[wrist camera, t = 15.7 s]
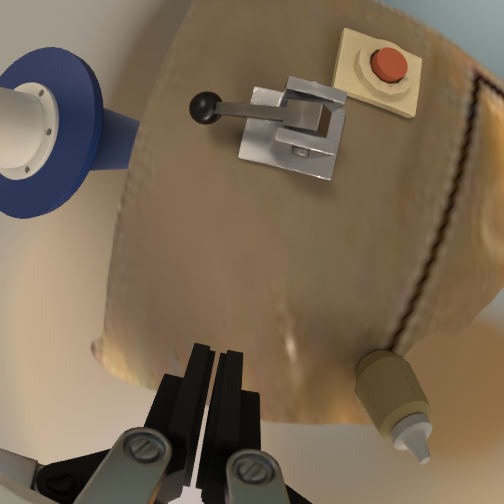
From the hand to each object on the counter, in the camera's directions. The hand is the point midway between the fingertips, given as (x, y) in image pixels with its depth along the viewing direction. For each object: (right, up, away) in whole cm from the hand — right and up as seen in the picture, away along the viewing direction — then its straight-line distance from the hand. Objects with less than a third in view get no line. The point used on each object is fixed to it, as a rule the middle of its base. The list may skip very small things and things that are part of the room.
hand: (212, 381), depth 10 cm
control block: (+16, +25, +19) cm, 35 cm away
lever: (+2, +16, +15) cm, 23 cm away
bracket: (+6, +17, +21) cm, 28 cm away
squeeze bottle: (+19, -11, +29) cm, 36 cm away
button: (+16, +24, +16) cm, 33 cm away
